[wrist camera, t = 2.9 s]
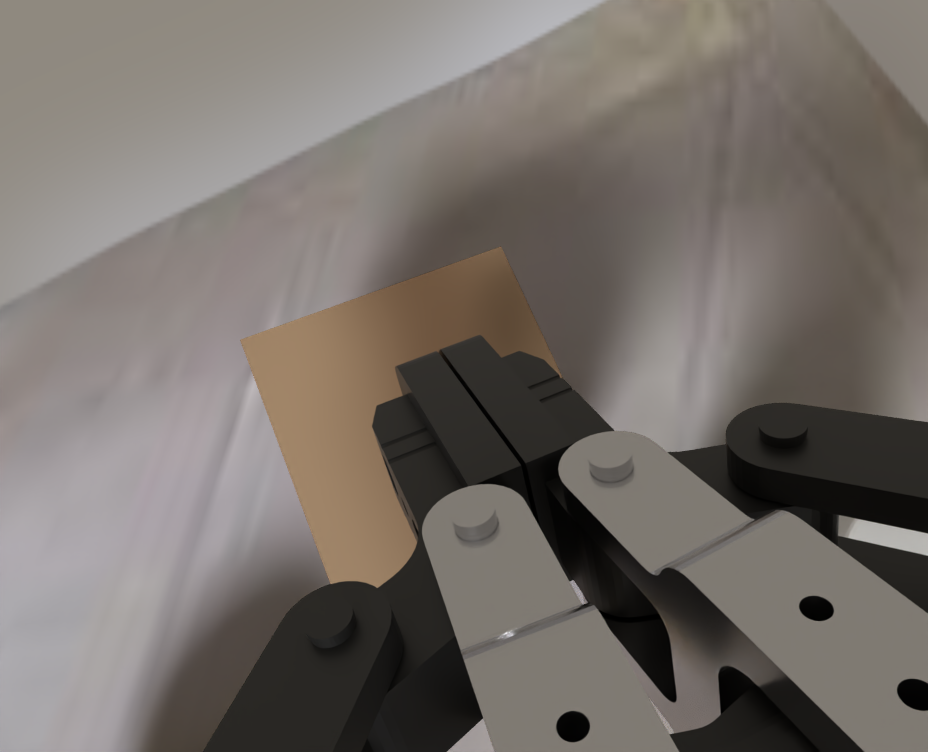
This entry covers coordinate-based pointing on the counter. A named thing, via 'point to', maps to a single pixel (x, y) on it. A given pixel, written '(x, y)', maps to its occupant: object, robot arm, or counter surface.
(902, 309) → the counter surface
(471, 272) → the brown wooden block
